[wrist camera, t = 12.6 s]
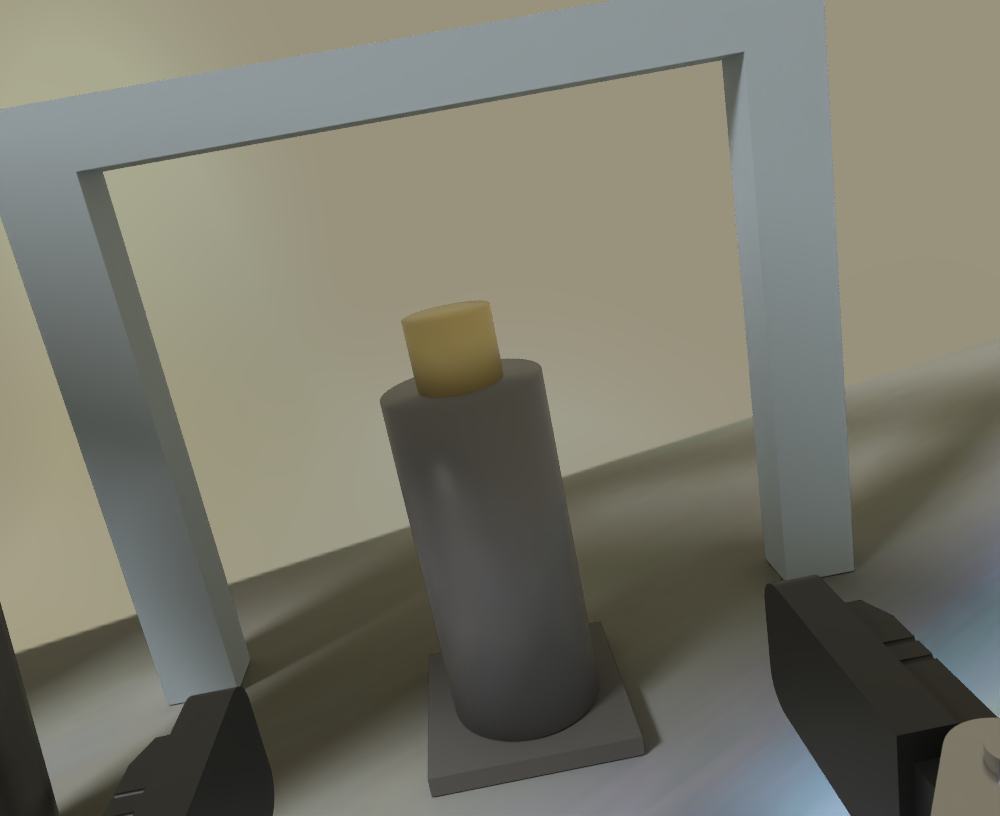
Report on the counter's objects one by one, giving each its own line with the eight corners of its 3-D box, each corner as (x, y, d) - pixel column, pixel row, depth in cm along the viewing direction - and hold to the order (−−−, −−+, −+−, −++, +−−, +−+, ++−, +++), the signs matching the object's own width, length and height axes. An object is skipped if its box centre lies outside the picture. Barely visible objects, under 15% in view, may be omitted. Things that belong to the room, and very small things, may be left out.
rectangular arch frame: (168, 705, 29) (-35, 115, 23) (185, 672, 31) (1, 119, 25) (854, 570, 30) (822, -37, 24) (828, 546, 32) (793, -22, 26)
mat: (432, 796, 23) (427, 779, 22) (432, 669, 28) (429, 655, 28) (645, 754, 23) (642, 736, 23) (602, 636, 28) (600, 621, 28)
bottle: (457, 755, 23) (354, 345, 20) (454, 664, 27) (369, 314, 24) (612, 722, 23) (537, 308, 20) (585, 636, 27) (520, 284, 24)
